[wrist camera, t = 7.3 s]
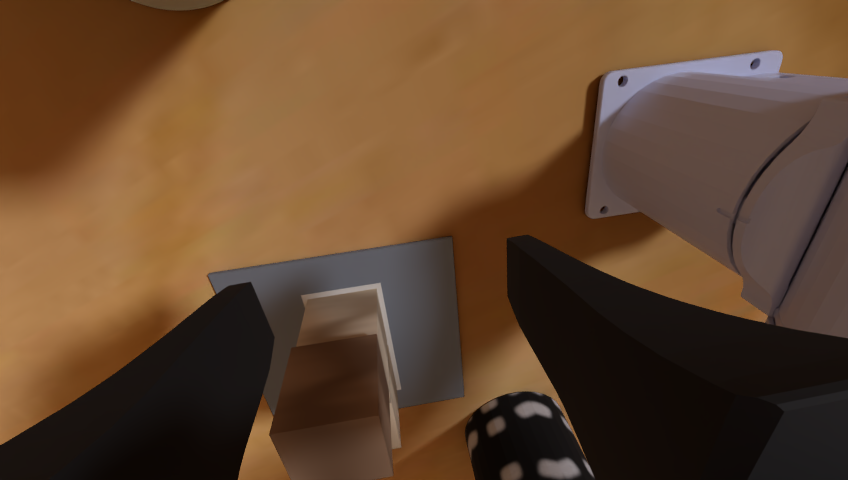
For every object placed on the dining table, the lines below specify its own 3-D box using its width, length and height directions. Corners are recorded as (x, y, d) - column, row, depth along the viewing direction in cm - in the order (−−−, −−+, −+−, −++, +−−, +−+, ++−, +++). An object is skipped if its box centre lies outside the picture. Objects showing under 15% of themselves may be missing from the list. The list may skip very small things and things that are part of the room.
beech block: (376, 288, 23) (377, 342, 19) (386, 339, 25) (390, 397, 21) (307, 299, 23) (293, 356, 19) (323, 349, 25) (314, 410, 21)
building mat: (451, 236, 22) (452, 237, 22) (463, 394, 29) (464, 396, 29) (209, 273, 21) (207, 275, 21) (280, 427, 28) (279, 430, 28)
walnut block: (376, 333, 19) (378, 415, 15) (388, 390, 21) (393, 476, 17) (291, 347, 18) (269, 434, 14) (312, 403, 20) (297, 493, 16)
